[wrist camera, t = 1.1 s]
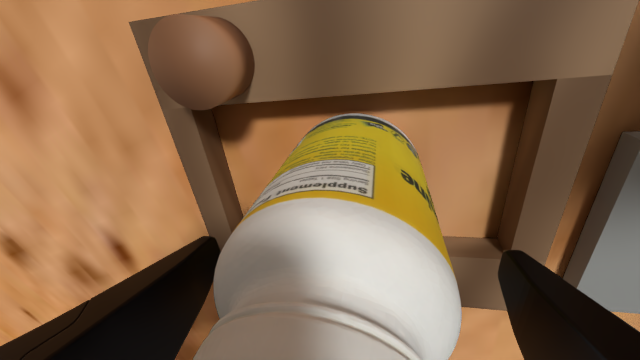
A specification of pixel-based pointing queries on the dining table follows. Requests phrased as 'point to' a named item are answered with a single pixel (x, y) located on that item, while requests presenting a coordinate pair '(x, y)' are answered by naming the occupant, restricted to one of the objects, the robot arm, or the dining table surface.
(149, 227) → the dining table surface
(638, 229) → the grey pad
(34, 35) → the dining table surface
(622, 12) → the wooden frame
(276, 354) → the pill bottle
